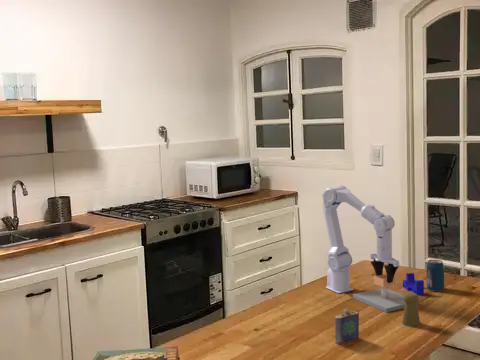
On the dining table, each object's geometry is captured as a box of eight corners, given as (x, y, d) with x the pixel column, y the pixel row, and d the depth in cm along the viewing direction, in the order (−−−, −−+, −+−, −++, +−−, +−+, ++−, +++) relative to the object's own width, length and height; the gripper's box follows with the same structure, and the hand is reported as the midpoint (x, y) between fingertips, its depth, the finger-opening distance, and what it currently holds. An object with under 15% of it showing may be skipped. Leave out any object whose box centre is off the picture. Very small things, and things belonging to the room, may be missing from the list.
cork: (411, 328, 192) (411, 297, 191) (398, 322, 198) (398, 292, 196) (423, 324, 195) (423, 294, 194) (411, 319, 200) (411, 289, 199)
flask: (338, 345, 181) (337, 313, 180) (332, 341, 183) (332, 310, 182) (360, 339, 185) (360, 307, 184) (355, 336, 188) (354, 305, 186)
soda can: (445, 288, 233) (445, 260, 232) (442, 292, 227) (442, 264, 226) (428, 285, 237) (428, 258, 236) (424, 290, 231) (424, 262, 230)
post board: (352, 297, 226) (352, 282, 225) (383, 290, 233) (383, 275, 232) (386, 312, 208) (386, 295, 207) (418, 304, 215) (418, 288, 214)
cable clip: (402, 286, 238) (402, 273, 237) (412, 286, 238) (412, 272, 237) (412, 295, 226) (412, 281, 225) (423, 295, 226) (423, 280, 225)
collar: (373, 283, 221) (373, 276, 220) (384, 281, 223) (384, 274, 223) (383, 287, 216) (383, 279, 215) (394, 284, 218) (394, 277, 218)
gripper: (364, 244, 223) (364, 277, 224) (389, 251, 210) (389, 286, 211) (378, 242, 226) (378, 274, 227) (403, 249, 213) (403, 283, 214)
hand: (384, 280), depth 219 cm, fingers closed on collar, 6 cm apart
